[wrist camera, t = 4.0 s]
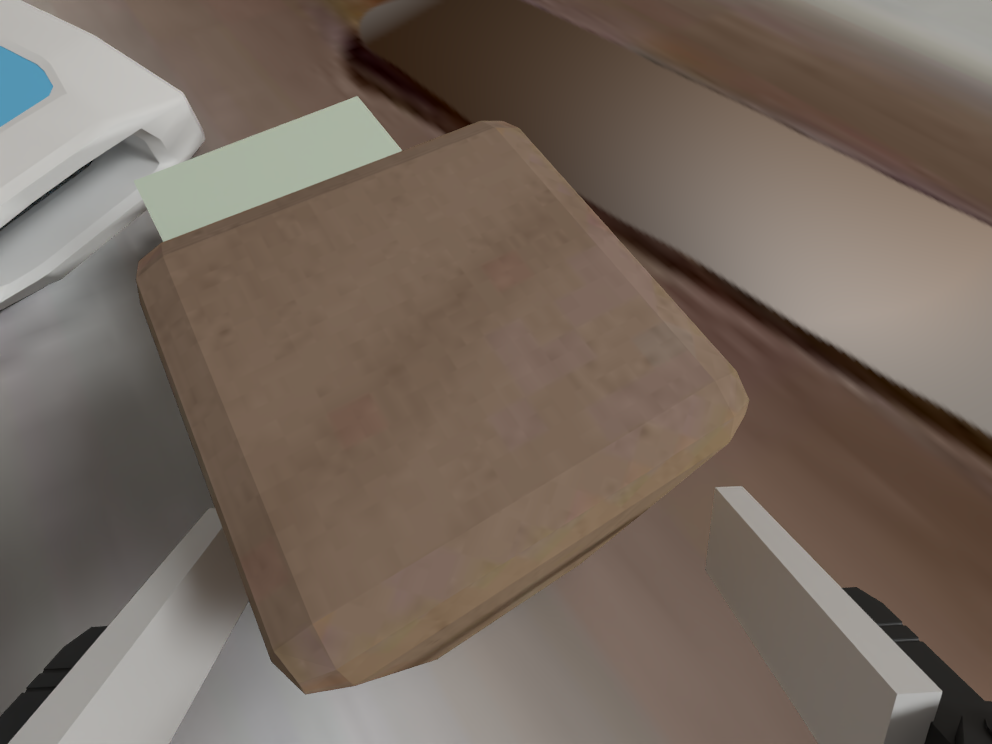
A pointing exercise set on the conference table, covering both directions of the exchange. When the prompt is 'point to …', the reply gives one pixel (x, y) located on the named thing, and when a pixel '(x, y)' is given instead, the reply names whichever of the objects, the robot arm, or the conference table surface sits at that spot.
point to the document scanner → (75, 144)
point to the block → (425, 396)
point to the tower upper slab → (264, 167)
